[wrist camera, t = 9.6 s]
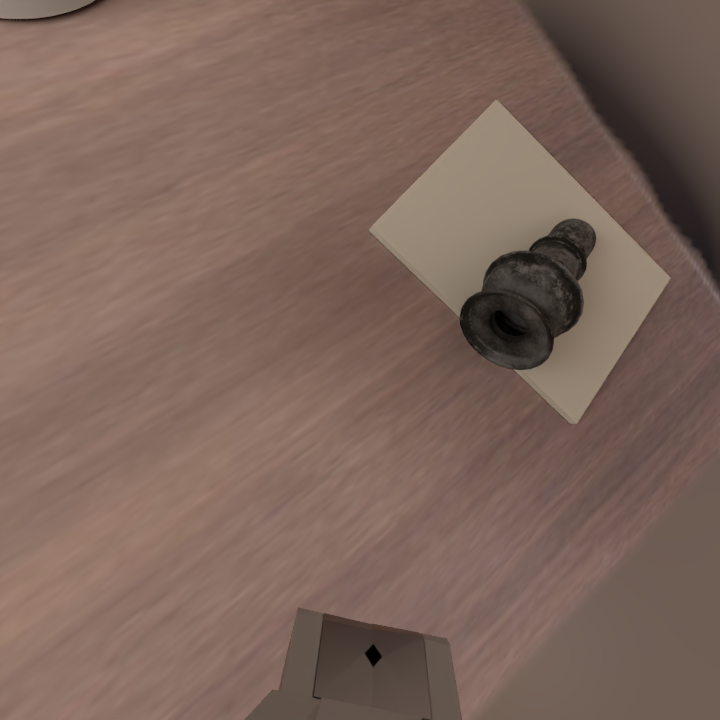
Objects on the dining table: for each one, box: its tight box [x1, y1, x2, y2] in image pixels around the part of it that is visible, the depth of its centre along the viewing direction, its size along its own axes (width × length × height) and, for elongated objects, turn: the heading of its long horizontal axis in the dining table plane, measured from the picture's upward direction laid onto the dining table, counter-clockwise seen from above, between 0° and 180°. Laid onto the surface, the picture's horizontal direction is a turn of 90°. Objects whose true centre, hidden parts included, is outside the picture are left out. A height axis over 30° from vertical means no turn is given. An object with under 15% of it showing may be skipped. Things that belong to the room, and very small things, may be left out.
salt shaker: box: [460, 218, 596, 370], centre depth 28 cm, size 6×6×12 cm
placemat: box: [369, 99, 671, 424], centre depth 31 cm, size 18×14×1 cm
